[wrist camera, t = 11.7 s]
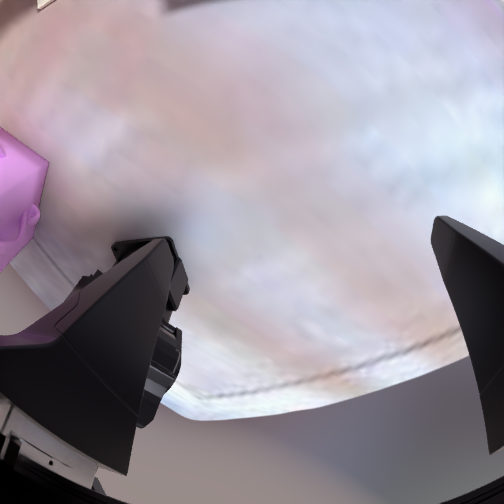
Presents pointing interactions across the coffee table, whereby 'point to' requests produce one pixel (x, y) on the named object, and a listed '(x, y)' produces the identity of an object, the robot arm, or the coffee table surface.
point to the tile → (43, 3)
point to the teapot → (18, 195)
